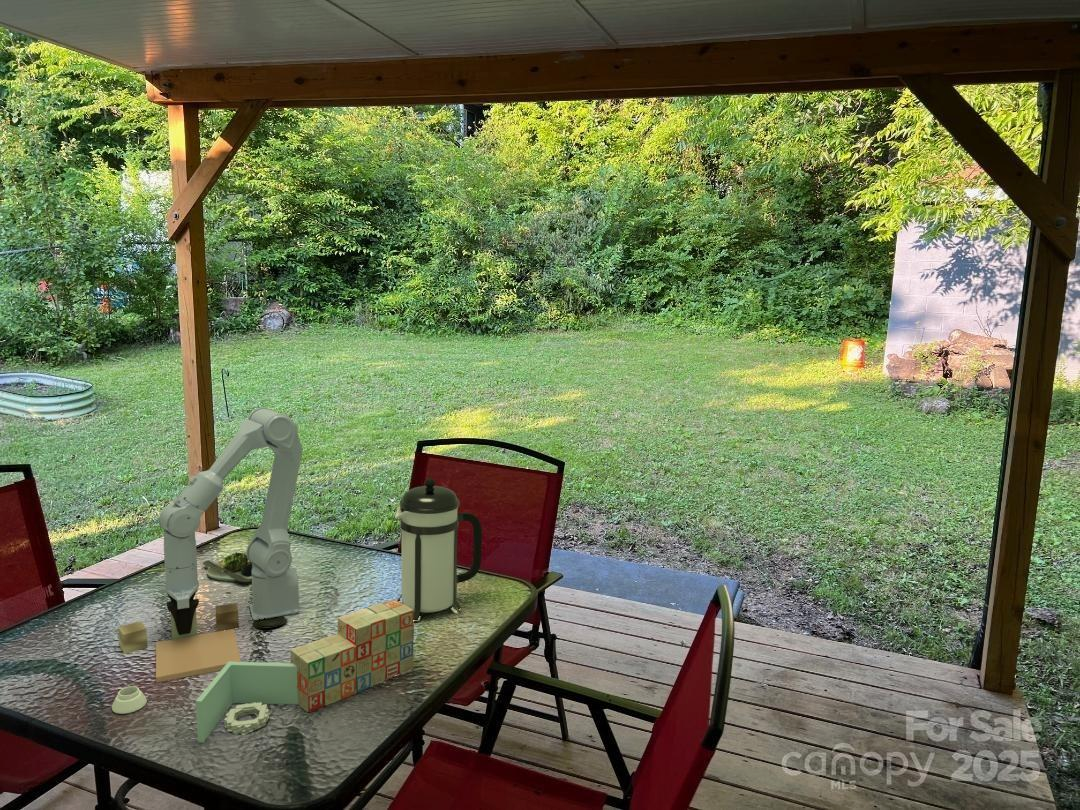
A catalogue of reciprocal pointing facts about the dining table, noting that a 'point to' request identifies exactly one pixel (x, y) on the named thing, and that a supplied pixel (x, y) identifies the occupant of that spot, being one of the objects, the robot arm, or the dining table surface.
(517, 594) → the dining table surface
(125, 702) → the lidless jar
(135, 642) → the pale oak block
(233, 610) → the walnut block
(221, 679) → the right angle wall
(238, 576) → the salad plate
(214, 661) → the tan flat square slab
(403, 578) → the coffee press
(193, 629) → the sage block
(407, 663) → the stack of blocks
